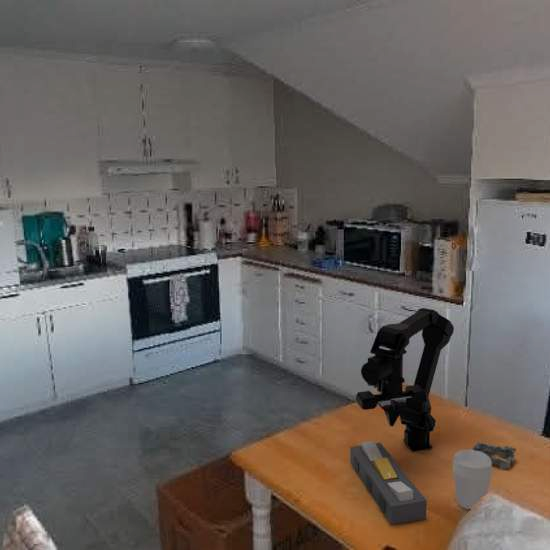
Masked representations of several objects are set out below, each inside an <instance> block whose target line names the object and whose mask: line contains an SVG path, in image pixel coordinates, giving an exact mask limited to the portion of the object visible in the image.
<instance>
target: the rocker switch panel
mask: <svg viewBox="0 0 550 550" xmlns="http://www.w3.org/2000/svg"><path fill="white" fill-rule="evenodd" d="M375 444H376V446H377V448H378V450H379V451H380V453H381V455H382V457H383V458H387V459H388V461H389V462H390V464H391V466H392V468H393V470H394V471H395V473H396V475H397V477H398V478H397V479H393V480H387V481H383V479H382V478H381V477H380V475H379V474H378V473H377V471H376V470H375V468H374V466H373V464H374V462H370V461H369V460H368V459H367V457H366V456H365V454H364V453H363V452H362V449H361V445H360V444H359V445H353V446H350V447H349V452H350V453H349V454H350V455H349V456H350V457H349V458H350V459H349V460H350V461H349V463H350V465H351V466H352V468H353V470H354V471H355V473H356V474H357V476H358V477H359V478H360V480H361V482H362V483H363V485H364V486H365V488H366V490H367V491H368V493H369V494H370V496H371V497H372V498H373V500H374V502H375V503H376V505H377V507H378V508H379V509H380V510H381V512H382V514H383V516H384V517H385V519H386V520H387V521H388V523H389V525H390V526H395V525H400V524H406V523H407V524H408V523H412V522H416V521H417V522H418V521H421V520H427V503H428V501H427V499H426V497H425V496H424V495H423V494H422V493H421V491H420V490H419V489H418V488H417V487H416V485H415V484H414V483H413V482H412V480H411V479H410V478H409V476H408V475H407V474H406V473H405V472H404V470H403V469H402V468H401V466H400V465H399V464H398V463H397V462H396V460H395V459H394V458H393V456H392V455H391V453H389V452H388V450H387V449H386V448H385V447H384V445H383V444H382V442H375ZM398 481H401V482H402V483H404V484H405V485H406V486H408V487H409V488H410V489H412V490H413V500H407V501H402V502H399V501H398V500H397V499H396V498H395V496H394V495H393V493H392V492H391V491H390V489H389V488H388V486H387V483H392V482H398Z"/></svg>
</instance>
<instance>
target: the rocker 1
mask: <svg viewBox="0 0 550 550" xmlns="http://www.w3.org/2000/svg"><path fill="white" fill-rule="evenodd" d="M375 443H376V442H375V440H368V441H365V442H364V441H363V442H361V449H362V452H363V453H364V454H365V456H366V457H367V459H368V460H369V461H370V462H374V459H380V458H383V457H382V455H381V453H380V451H379V450H378V448H377V446H376V444H375Z"/></svg>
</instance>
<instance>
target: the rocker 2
mask: <svg viewBox="0 0 550 550" xmlns="http://www.w3.org/2000/svg"><path fill="white" fill-rule="evenodd" d="M373 466H374V468H375V470H376V471H377V473H378V474H379V475H380V477H381V478H382V479H383V481H387V480H393V479H397V478H398V477H397V475H396V473H395V471H394V470H393V468H392V466H391V464H390V462H389V461H388V459H387V458H380V459H374V464H373Z"/></svg>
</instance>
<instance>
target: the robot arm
mask: <svg viewBox="0 0 550 550" xmlns="http://www.w3.org/2000/svg"><path fill="white" fill-rule="evenodd" d="M454 330H455V328H454V325H453V323H452V321H450V320H449V319H448V318H446V317H445V316H443V315H441V314H440V313H439V312H438V311H436V309H431V308H426V307H422V308H421V307H420V308H418V310H417V311H416V312H415V313H413V314H411V315H410V316H408V317H407V318H405V319H404V320H402V321H400V322H397V323H389V324H385V325H382V326H381V327H380V328H379V329H378V330H377V333H376V336H375V339H374V340H373V343H372V345H371V349H370V351H369V353H370V354H372V355H373V356H370V357H368V358H367V361H366V362H365V363H364V364H363V365H362V367H361V369H360V374H361V375H360V376H361V377H362V379H363V380H364V381H365V382H366V383H367V386H368V387H369V386H370V387H373V389H376V391H377V392H378V393H379V392H380V394H378V393H377V394H373V393H372V392H371V391H370V390H367V391H357V394H356V395H355V402H356V403H357V405H359V407H360V408H361V410H365V411H366V410H367V411H368V410H375V408H376V407H378V406H379V407H380V409H382V411H383V412H384V414H385V417H386V420H387V422H388V425H389V427H394V426H395V423H396V422H397V421H398V418H399V420H400V424H401V425H404V426H405V429H404V431H403V439H402V441H403V443H404V444H405V446H407V448H408V449H409V450H410V451H412V452H416V451H424V450H430V449H433V446H432V445H431V444H430V442H431V441H430V440H431V439H430V438H431V432H433V431H434V428H435V426H436V422H437V420H436V419H435V418H434V417H433V415H432V414H431V412H432V406H431V402H430V399H429V398H430V397H429V396H430V393H431V389H432V384H433V381H434V377H435V374H436V369H437V367H438V366H437V365H438V363H439V359H440V355H441V350H443V349H444V348H445V347H446V346H447V345H448V344H449V343H450V340H451V337H452V335H453V334H454V332H455V331H454ZM420 332H421V337H422V340H423V349H422V353H421V355H420V356H421V357H420V360H419V364H418V368H417V371H416V375H415V379H414V382H413V384H412V385H407V386H405V388H404V390H403V384H404V383H405V382H406V381H405V380H406V379H405V378H404V375H403V371H404V370H403V369H404V365H403V364H404V355H406V354H407V352H408V351H407V350H406V347H407V346H409V345H410V339H412V337H413V336H415V335H417V334H418V333H420Z"/></svg>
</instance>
